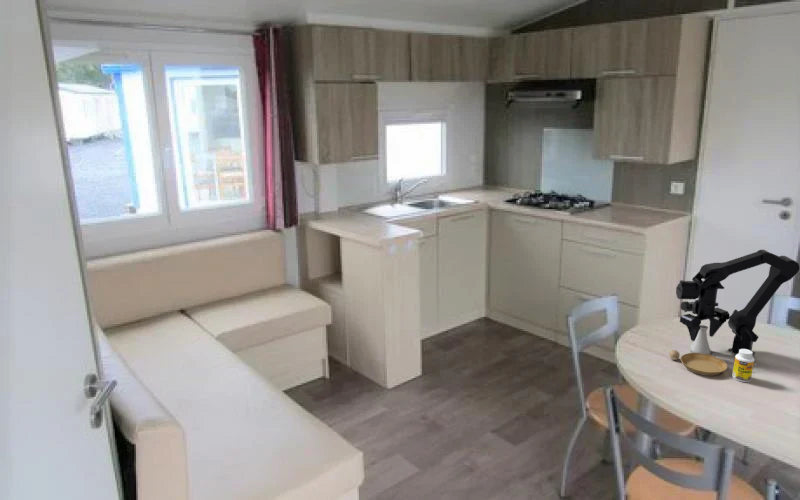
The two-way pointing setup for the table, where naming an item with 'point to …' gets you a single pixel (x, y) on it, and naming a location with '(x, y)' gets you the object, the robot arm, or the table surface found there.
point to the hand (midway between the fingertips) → (701, 338)
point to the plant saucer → (703, 363)
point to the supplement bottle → (743, 365)
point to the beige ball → (674, 355)
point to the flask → (701, 342)
